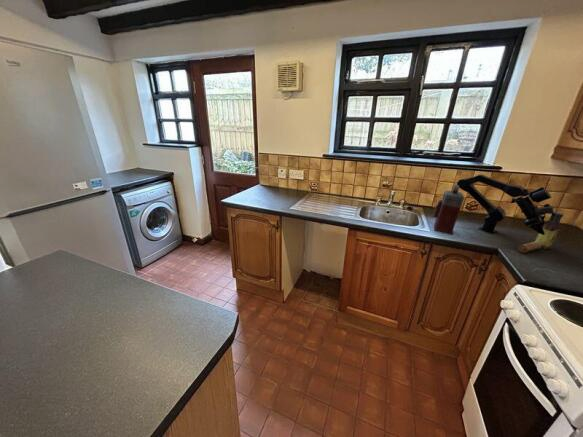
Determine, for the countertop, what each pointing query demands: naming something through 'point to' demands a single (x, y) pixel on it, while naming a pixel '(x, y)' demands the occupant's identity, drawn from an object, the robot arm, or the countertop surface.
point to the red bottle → (448, 210)
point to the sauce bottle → (550, 230)
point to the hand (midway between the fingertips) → (544, 232)
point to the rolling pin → (529, 247)
